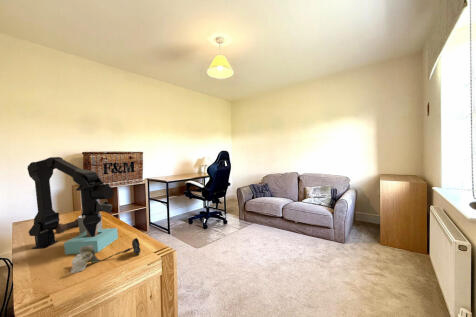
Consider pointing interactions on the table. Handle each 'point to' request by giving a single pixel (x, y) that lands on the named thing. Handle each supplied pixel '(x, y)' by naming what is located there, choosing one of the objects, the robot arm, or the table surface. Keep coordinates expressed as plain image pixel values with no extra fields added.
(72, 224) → the bolt
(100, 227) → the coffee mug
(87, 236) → the walnut dowel
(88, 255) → the artificial flower
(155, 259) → the table surface
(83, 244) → the socket block
